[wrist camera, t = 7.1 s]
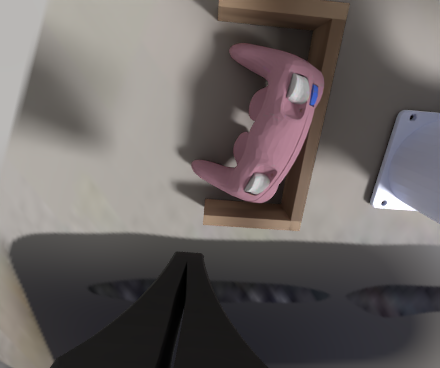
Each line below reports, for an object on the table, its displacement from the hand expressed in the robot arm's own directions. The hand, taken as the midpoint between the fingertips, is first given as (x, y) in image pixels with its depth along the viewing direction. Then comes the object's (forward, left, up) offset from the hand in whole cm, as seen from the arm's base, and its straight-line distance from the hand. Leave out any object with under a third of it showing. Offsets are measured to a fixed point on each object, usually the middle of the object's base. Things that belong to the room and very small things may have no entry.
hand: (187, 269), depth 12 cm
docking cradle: (-4, -6, -9) cm, 12 cm away
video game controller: (-3, -6, -10) cm, 12 cm away
